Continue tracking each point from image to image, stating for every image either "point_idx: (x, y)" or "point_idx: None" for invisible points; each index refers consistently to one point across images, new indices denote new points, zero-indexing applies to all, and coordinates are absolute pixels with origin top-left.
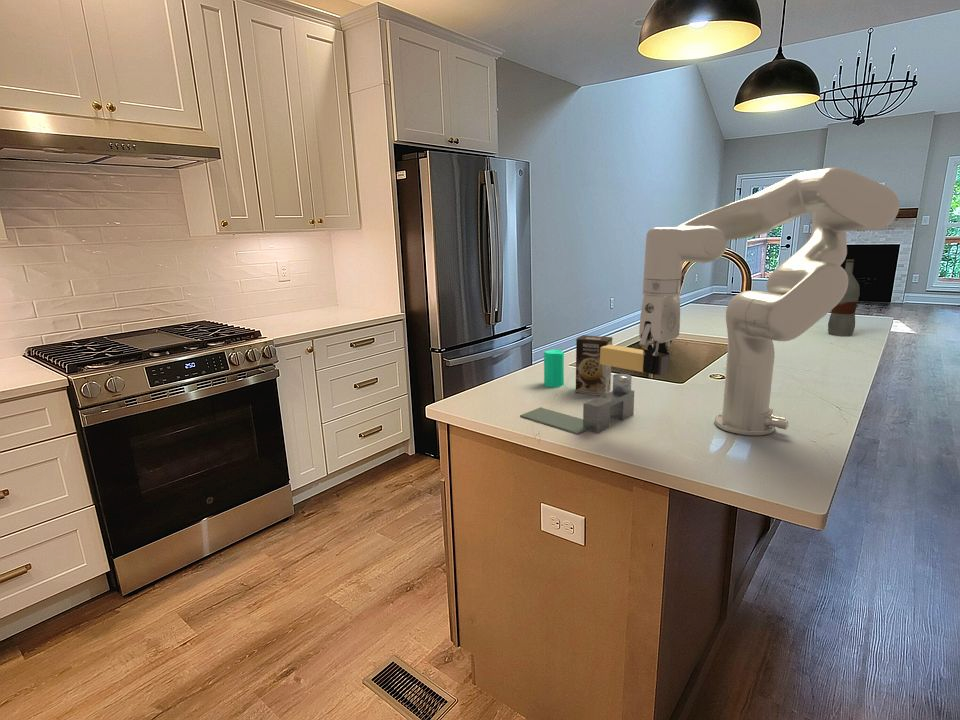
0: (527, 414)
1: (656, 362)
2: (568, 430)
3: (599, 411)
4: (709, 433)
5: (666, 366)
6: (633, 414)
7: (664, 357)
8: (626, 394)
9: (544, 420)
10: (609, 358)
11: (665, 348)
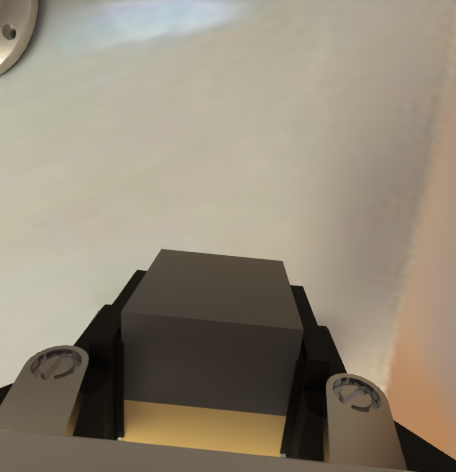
0: None
1: (318, 334)
2: None
3: None
4: (90, 66)
5: (200, 272)
6: (98, 311)
7: (245, 318)
8: None
9: (283, 455)
10: None
11: (85, 395)
